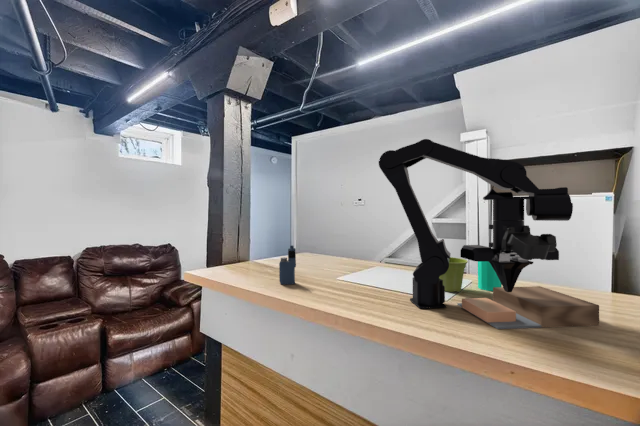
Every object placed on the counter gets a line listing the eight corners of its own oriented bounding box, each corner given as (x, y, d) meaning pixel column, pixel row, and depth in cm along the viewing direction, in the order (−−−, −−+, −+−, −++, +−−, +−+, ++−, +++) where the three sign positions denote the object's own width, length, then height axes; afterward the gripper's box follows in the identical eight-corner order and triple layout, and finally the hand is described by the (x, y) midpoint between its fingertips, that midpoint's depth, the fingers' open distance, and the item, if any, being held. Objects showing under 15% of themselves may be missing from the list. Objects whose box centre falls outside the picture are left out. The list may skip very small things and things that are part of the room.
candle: (505, 291, 79) (505, 248, 79) (481, 290, 80) (481, 248, 80) (496, 286, 85) (496, 246, 85) (474, 285, 86) (474, 245, 86)
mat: (497, 328, 55) (497, 326, 55) (457, 304, 69) (457, 303, 69) (541, 327, 55) (541, 325, 55) (493, 303, 69) (493, 302, 69)
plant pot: (469, 288, 83) (469, 258, 83) (466, 296, 75) (466, 263, 75) (435, 283, 88) (435, 256, 88) (429, 291, 80) (429, 260, 80)
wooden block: (541, 327, 55) (541, 306, 55) (493, 303, 69) (493, 287, 69) (599, 325, 56) (599, 305, 56) (539, 302, 70) (539, 286, 70)
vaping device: (295, 284, 89) (295, 246, 88) (278, 284, 89) (278, 246, 89) (296, 282, 91) (296, 245, 91) (280, 282, 91) (279, 245, 91)
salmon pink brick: (515, 311, 57) (515, 321, 57) (486, 297, 66) (486, 306, 66) (487, 312, 57) (487, 322, 57) (461, 298, 66) (461, 307, 66)
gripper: (491, 222, 53) (491, 305, 53) (584, 221, 55) (584, 302, 55) (459, 220, 64) (459, 288, 65) (537, 219, 66) (537, 286, 66)
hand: (508, 291), depth 62 cm, fingers closed
